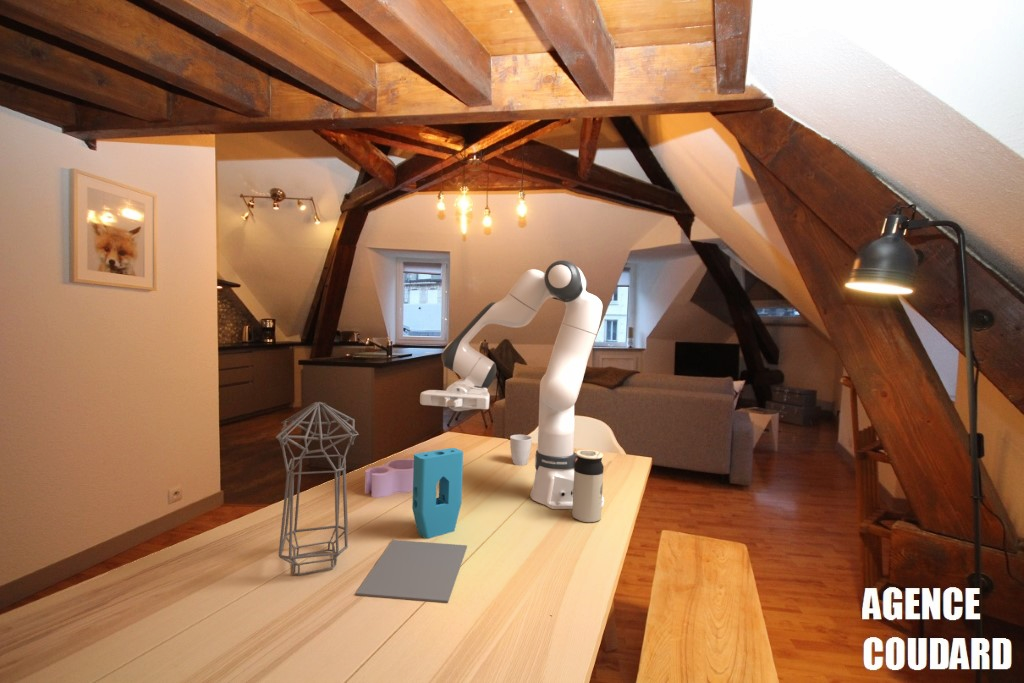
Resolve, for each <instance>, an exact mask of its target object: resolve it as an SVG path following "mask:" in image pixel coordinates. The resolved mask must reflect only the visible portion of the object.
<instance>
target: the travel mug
mask: <svg viewBox="0 0 1024 683" xmlns="http://www.w3.org/2000/svg"><path fill="white" fill-rule="evenodd" d="M575 453H576V455H577V460H576V462H575V466H574V487H573V508H572V509H571V510H572V513H571V516H572V517H573V518H574V519H576V520H578V521H580V522H583V523H595V522H598V521H600V520H601V518H602V508H603V507H602V495H603V486H604V466H605V465H604V463H603V462H602V460H603V457H604V454H603V453H602V452H600V451H597V450H594V449H593V450H592V449H582V450H581V449H579V450H577V451H576V452H575Z"/></svg>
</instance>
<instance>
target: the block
mask: <svg viewBox="0 0 1024 683" xmlns="http://www.w3.org/2000/svg"><path fill="white" fill-rule="evenodd" d="M413 457H414V470H413V491H412V507H411V509H412V514H413V517H414V521H415V526H416V530H417V533H418V534H419V536H421V537H423V538H424V539H432V538H436V537H438V536H443V535H445V534H450V533H452V532H453V533H454V532H455V530H456V527H457V522H458V518H459V516H460V511H461V506H462V498H463V496H462V494H463V470H464V469H463V468H464V467H463V466H464V465H463V464H464V451H462V450H461V449H459V448H457V447H450V448H442V449H438V450H431V451H424V452H423V451H422V452H417V453H414V454H413ZM438 484H439V485H438ZM437 485H438V487H437ZM437 488H438V489H437ZM437 490H438V497H437Z"/></svg>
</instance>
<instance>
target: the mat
mask: <svg viewBox="0 0 1024 683" xmlns="http://www.w3.org/2000/svg"><path fill="white" fill-rule="evenodd" d="M467 549H468V545H466V544H455V543H454V544H453V543H441V542H428V541H427V542H425V541H424V542H423V541H414V540H412V541H411V540H400V539H392V540H391V541H390V543H389V544H388V546H387V547H386V549H385V551H384V552H383V553H382V555H381V556H380V557H379V559H378V561H376V563H375V564H374V565H373V567H372V569H371V570H370V571H369V573H368V575H367V576H366V578H365V579H364V580H363V581H362V583H361V585H360V586H359V588H358V589H357V590H356V592H355V596H364V597H373V598H374V597H375V598H384V599H398V600H409V601H411V600H412V601H422V602H423V601H425V602H436V603H445V604H446V603H449V601H450V597H451V595H452V592H453V590H454V587H455V583H456V580H457V577H458V575H459V571H460V568H461V566H462V563H463V560H464V557H465V554H466V552H467Z"/></svg>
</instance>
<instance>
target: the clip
mask: <svg viewBox="0 0 1024 683" xmlns="http://www.w3.org/2000/svg"><path fill="white" fill-rule="evenodd" d="M413 470H414V456H413V457H412V458H406V457H405V458H396V459H391V460H389V461H386V462H384V463H383V464H382V465H378V466H371V467H369V468H366V469H365V471H364V473H365V474H364V494H365V495H368V494H370V493H371V498H374V499H375V498H377V499H378V498H379V499H380V498H385V497H389V496H391V495H393V494H397V493H398V494H399V493H402V494H403V493H404V494H405V493H410V492H412V493H413Z"/></svg>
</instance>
